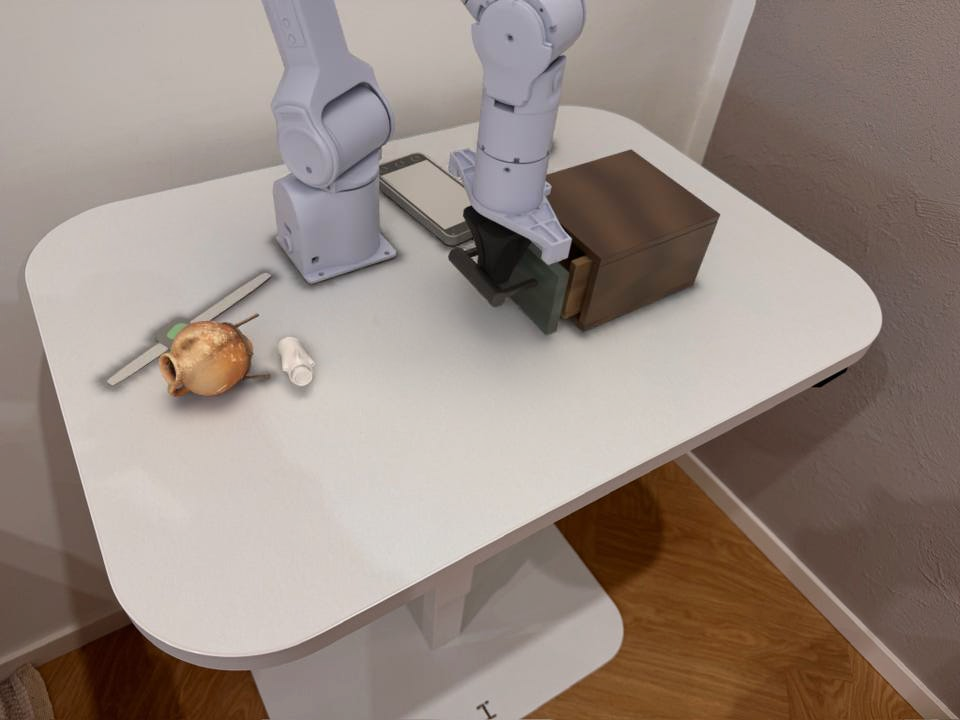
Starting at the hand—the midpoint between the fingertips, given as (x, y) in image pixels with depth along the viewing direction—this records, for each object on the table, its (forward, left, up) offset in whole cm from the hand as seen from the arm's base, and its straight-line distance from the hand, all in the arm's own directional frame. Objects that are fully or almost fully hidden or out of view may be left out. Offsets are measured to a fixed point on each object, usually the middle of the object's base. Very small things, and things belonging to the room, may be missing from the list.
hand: (495, 280), depth 67 cm
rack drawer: (+6, 0, -3) cm, 7 cm away
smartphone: (+4, +18, -4) cm, 19 cm away
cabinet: (+13, 0, -4) cm, 14 cm away
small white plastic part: (-18, +2, -4) cm, 19 cm away
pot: (-26, +6, -3) cm, 27 cm away
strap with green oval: (-25, +12, -4) cm, 28 cm away
